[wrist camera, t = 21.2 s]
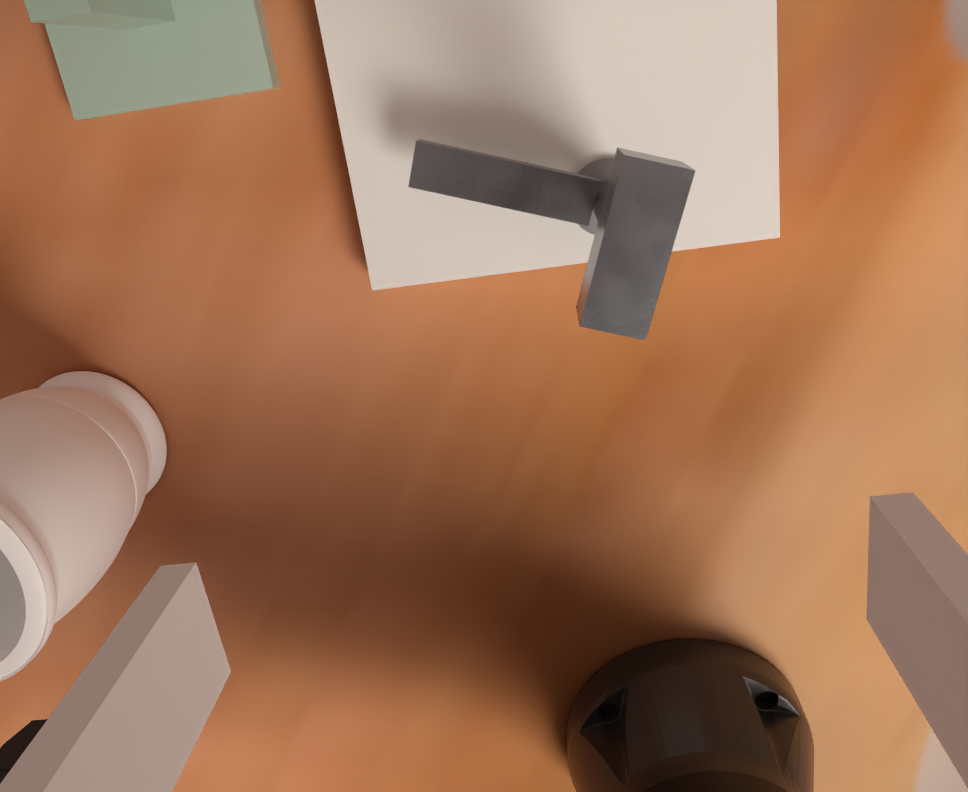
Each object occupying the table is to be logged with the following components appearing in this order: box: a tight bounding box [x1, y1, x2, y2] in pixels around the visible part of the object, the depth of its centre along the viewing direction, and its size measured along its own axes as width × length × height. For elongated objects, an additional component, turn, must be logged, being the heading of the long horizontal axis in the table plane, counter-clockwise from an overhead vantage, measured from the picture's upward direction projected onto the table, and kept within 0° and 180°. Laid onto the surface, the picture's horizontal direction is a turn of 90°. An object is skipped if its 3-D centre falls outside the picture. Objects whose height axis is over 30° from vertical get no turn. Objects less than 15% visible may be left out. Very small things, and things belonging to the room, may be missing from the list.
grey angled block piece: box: [408, 139, 696, 340], centre depth 34 cm, size 10×6×12 cm, turn 78°
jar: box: [0, 371, 167, 681], centre depth 41 cm, size 11×10×15 cm
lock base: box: [315, 0, 780, 290], centre depth 37 cm, size 23×20×2 cm
